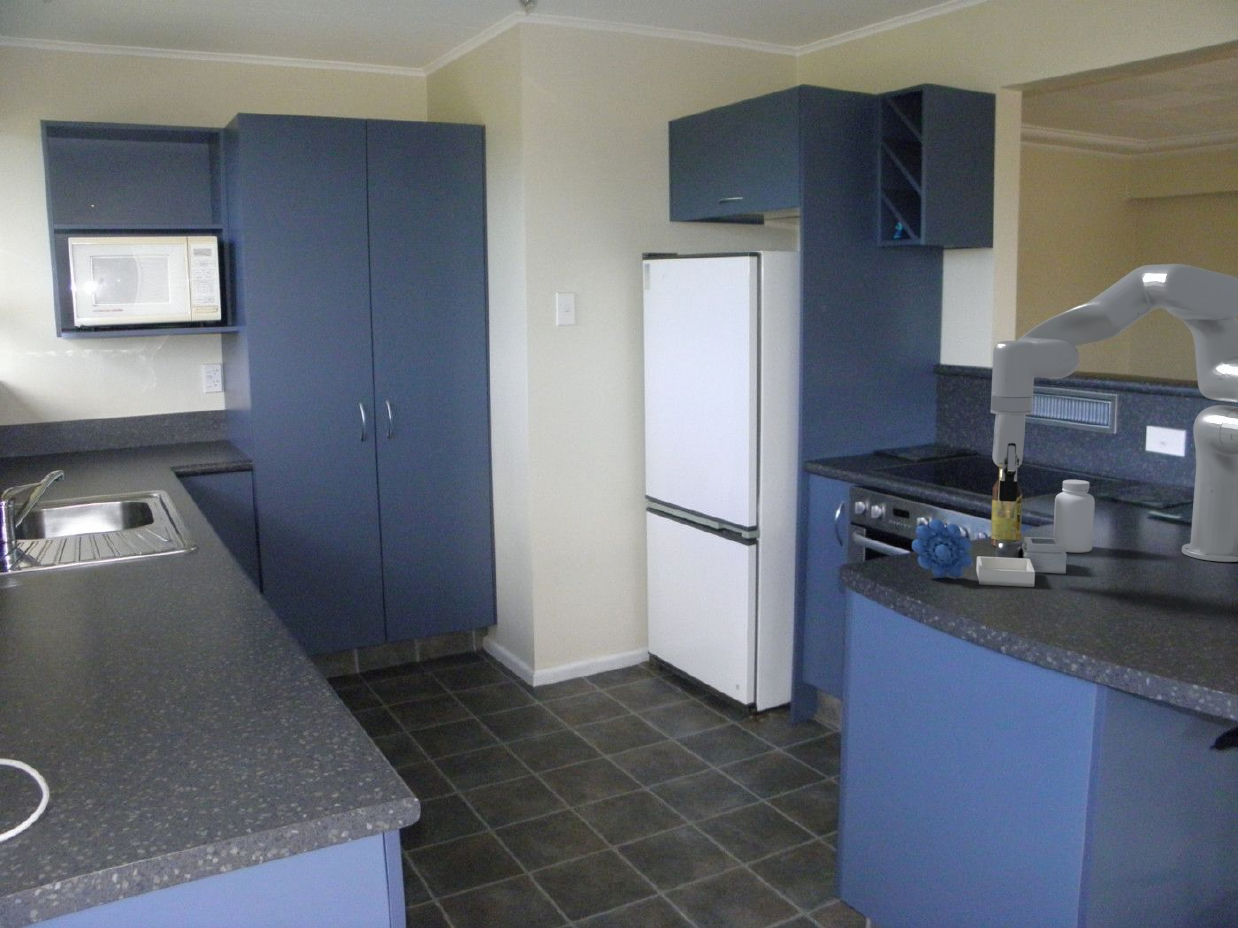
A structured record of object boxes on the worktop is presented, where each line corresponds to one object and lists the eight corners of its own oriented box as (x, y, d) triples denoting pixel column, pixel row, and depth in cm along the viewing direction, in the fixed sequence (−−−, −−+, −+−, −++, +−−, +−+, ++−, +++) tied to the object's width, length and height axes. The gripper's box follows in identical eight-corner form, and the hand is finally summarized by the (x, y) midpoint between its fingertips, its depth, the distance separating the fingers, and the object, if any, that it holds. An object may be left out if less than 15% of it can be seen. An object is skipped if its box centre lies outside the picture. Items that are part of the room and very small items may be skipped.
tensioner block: (1060, 563, 219) (1061, 537, 218) (1065, 573, 211) (1067, 546, 210) (994, 560, 222) (995, 534, 221) (996, 570, 214) (997, 544, 213)
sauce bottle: (1022, 550, 230) (1026, 460, 226) (992, 549, 231) (996, 460, 228) (1017, 542, 236) (1021, 455, 233) (988, 542, 237) (991, 455, 234)
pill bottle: (1090, 545, 232) (1094, 478, 230) (1093, 554, 225) (1097, 485, 222) (1051, 543, 235) (1054, 477, 232) (1053, 552, 227) (1057, 484, 225)
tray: (1028, 573, 212) (1029, 558, 211) (1034, 587, 202) (1034, 571, 202) (976, 570, 214) (976, 556, 214) (979, 584, 205) (979, 569, 204)
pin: (994, 514, 209) (997, 458, 207) (1015, 515, 208) (1018, 458, 206) (995, 518, 205) (998, 461, 203) (1017, 519, 204) (1020, 462, 202)
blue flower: (911, 582, 207) (913, 523, 205) (910, 573, 213) (911, 515, 211) (973, 585, 204) (976, 525, 202) (970, 576, 211) (972, 517, 209)
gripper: (988, 400, 211) (983, 490, 214) (993, 410, 196) (989, 506, 199) (1027, 401, 209) (1023, 492, 212) (1037, 410, 194) (1031, 508, 197)
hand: (1006, 498), depth 206 cm, fingers closed on pin, 3 cm apart
